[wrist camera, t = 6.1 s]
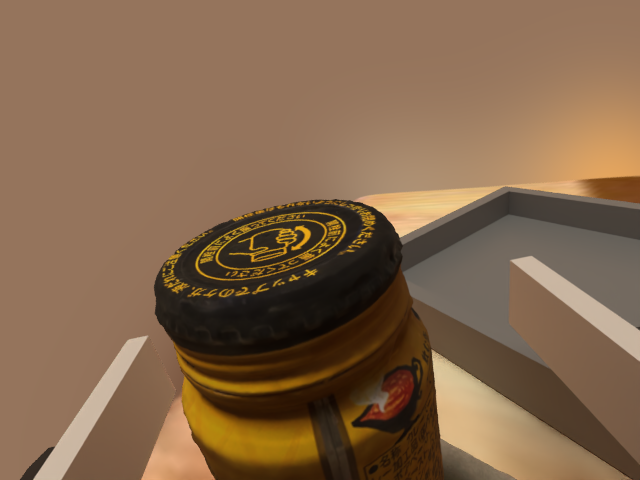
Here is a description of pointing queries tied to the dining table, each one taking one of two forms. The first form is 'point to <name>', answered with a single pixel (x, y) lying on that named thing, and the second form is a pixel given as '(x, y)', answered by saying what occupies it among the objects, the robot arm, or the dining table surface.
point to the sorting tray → (493, 293)
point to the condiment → (306, 350)
